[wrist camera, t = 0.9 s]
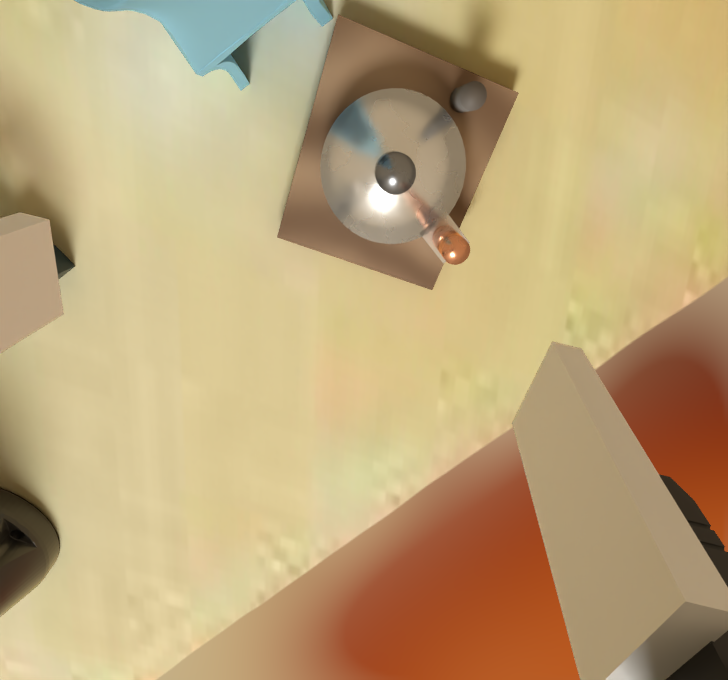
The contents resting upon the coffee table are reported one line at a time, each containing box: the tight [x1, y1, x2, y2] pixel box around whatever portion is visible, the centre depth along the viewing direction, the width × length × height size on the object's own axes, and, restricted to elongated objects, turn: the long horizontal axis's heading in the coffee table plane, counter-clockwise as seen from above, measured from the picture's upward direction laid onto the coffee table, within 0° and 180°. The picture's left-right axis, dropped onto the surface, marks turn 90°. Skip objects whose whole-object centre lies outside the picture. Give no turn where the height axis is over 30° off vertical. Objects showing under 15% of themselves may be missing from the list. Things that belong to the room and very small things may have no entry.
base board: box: [277, 15, 518, 290], centre depth 31 cm, size 15×13×5 cm
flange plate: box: [320, 88, 470, 265], centre depth 30 cm, size 12×10×6 cm
